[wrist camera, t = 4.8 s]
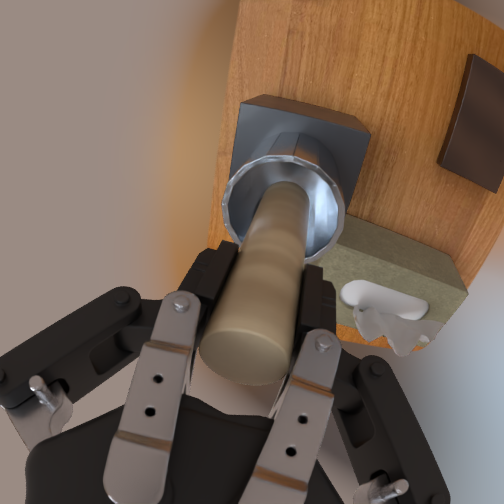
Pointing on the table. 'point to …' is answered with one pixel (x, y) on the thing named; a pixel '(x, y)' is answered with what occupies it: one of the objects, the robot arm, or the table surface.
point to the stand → (308, 122)
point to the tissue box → (391, 285)
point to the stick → (261, 293)
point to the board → (477, 127)
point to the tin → (293, 170)
